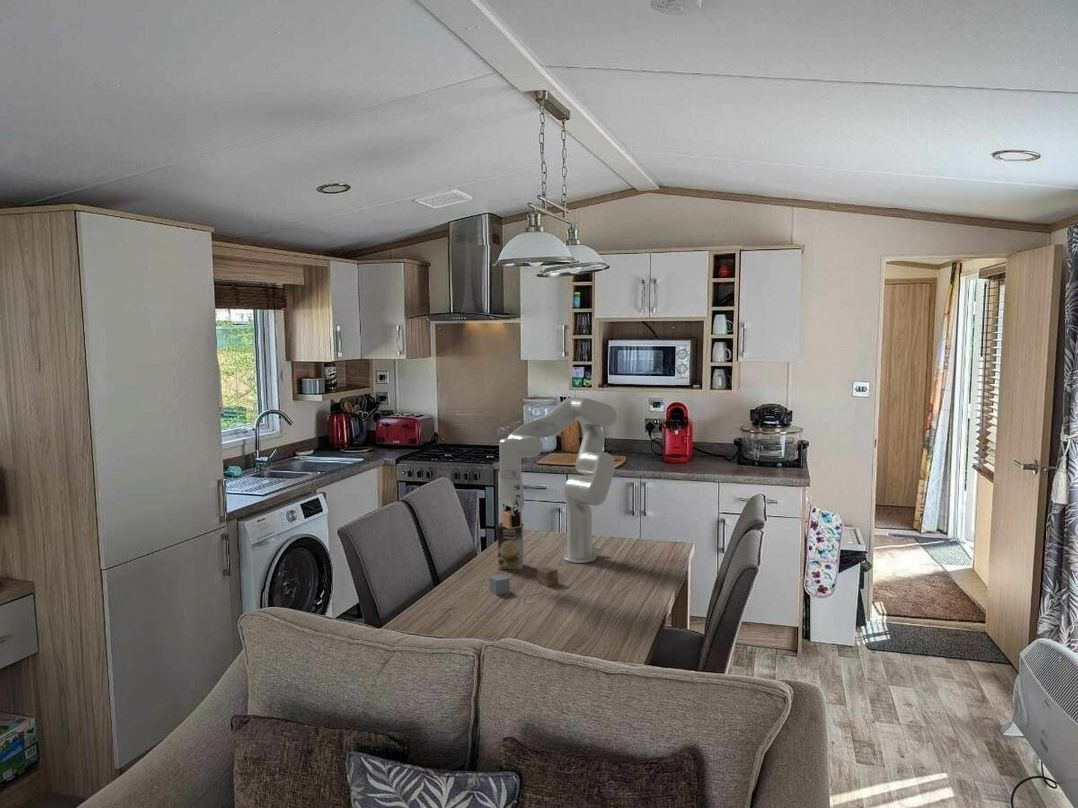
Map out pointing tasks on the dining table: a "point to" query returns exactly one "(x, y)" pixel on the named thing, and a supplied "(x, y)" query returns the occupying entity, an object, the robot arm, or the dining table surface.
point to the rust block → (509, 519)
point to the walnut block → (547, 576)
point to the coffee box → (510, 547)
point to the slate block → (499, 584)
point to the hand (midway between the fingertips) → (512, 524)
